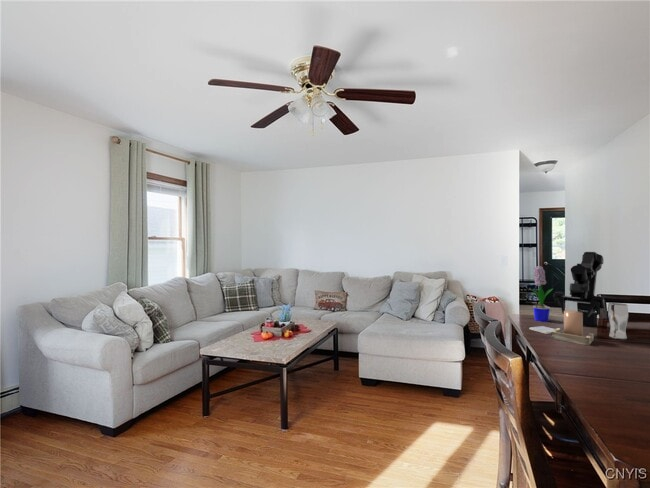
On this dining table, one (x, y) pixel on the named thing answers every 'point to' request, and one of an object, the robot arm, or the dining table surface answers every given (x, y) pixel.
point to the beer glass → (618, 320)
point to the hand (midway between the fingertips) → (575, 314)
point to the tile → (542, 329)
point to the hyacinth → (540, 296)
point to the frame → (572, 337)
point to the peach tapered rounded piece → (573, 323)
